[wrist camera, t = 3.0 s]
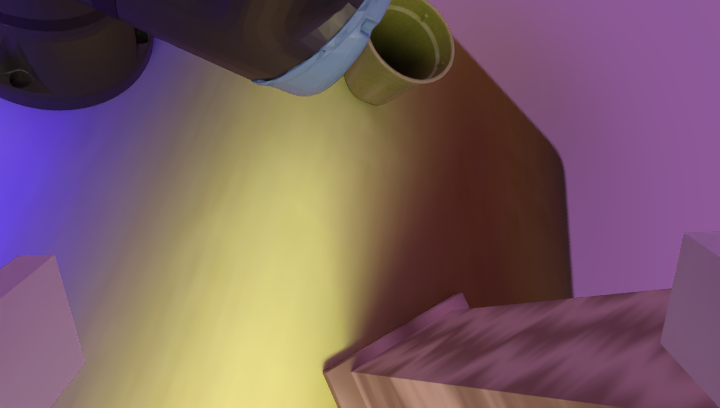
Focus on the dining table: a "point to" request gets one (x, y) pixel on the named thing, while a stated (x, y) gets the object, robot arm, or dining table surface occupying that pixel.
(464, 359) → the birch stand
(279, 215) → the dining table surface
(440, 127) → the dining table surface
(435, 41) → the plant pot
